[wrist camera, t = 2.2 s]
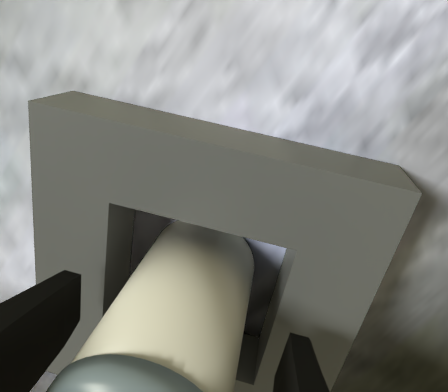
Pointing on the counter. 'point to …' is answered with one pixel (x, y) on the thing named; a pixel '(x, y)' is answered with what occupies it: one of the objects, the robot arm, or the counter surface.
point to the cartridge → (171, 319)
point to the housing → (214, 216)
